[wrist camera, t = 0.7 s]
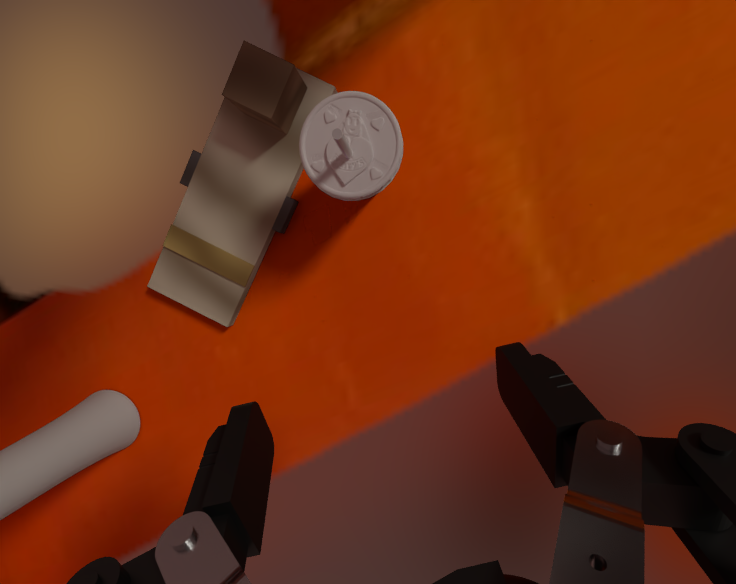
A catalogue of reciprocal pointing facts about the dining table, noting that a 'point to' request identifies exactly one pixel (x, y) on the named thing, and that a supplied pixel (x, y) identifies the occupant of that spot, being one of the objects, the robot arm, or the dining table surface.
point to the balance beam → (238, 186)
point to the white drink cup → (351, 145)
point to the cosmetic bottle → (66, 447)
